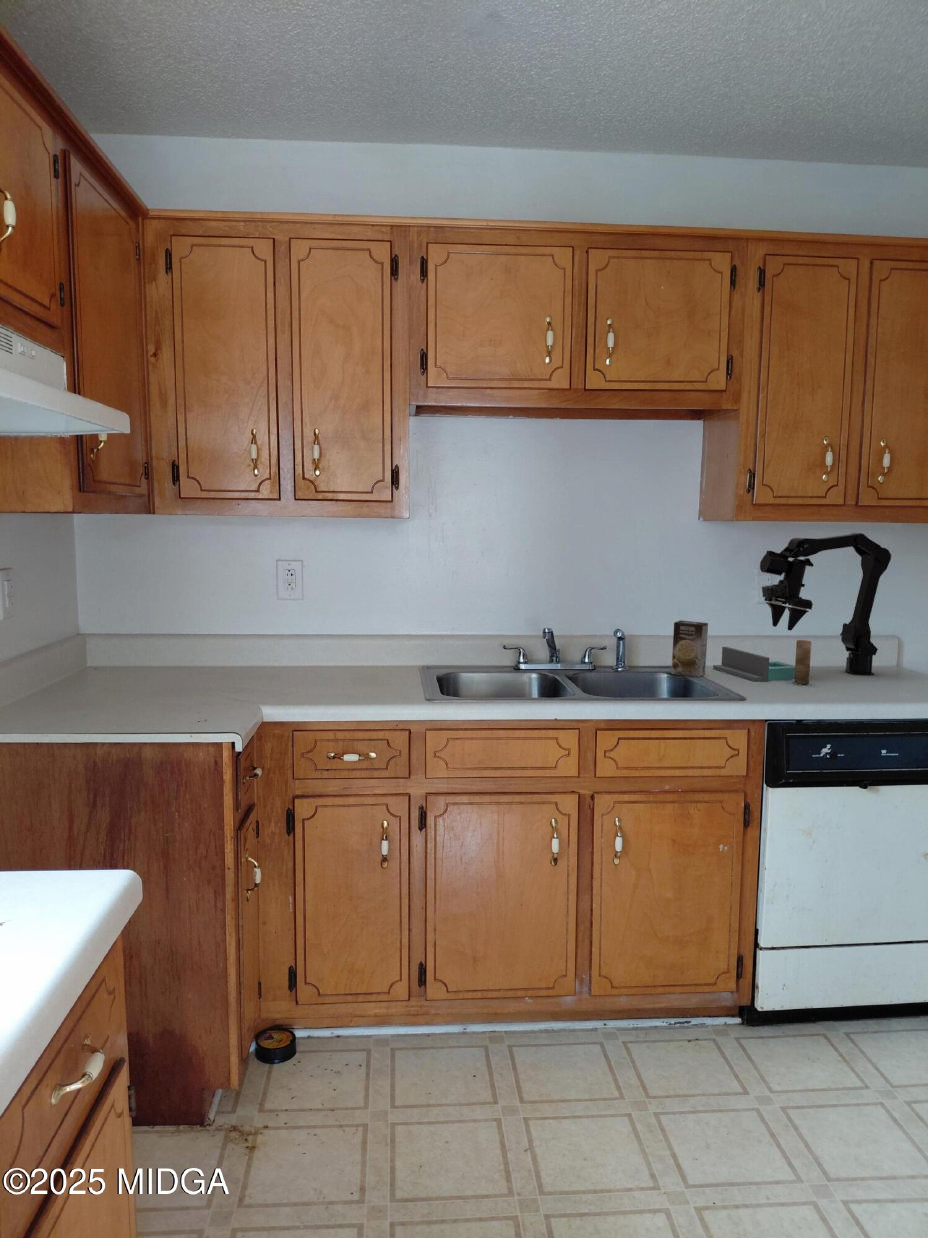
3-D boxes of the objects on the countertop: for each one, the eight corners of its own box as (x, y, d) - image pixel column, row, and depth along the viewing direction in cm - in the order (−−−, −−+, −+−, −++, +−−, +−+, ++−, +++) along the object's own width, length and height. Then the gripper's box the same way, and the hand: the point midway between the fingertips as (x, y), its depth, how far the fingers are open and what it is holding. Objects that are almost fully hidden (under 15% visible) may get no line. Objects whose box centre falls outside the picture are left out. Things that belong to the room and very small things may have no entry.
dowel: (805, 682, 254) (808, 640, 252) (810, 685, 250) (813, 642, 248) (792, 682, 254) (794, 640, 253) (796, 684, 250) (799, 642, 249)
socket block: (776, 674, 269) (777, 661, 269) (799, 680, 259) (800, 667, 258) (745, 675, 266) (746, 662, 266) (767, 682, 256) (768, 668, 255)
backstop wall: (725, 668, 276) (726, 646, 275) (768, 681, 255) (769, 657, 254) (713, 668, 275) (714, 647, 274) (754, 681, 254) (755, 658, 253)
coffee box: (670, 674, 264) (672, 622, 263) (677, 671, 270) (679, 620, 268) (700, 677, 260) (702, 624, 258) (706, 674, 265) (708, 622, 263)
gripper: (754, 571, 272) (743, 620, 274) (784, 575, 254) (772, 627, 255) (787, 578, 274) (775, 626, 275) (818, 582, 256) (806, 634, 257)
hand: (781, 628), depth 266 cm, fingers open, 9 cm apart
